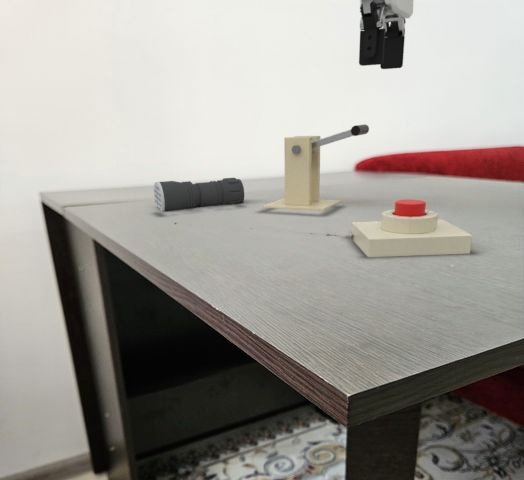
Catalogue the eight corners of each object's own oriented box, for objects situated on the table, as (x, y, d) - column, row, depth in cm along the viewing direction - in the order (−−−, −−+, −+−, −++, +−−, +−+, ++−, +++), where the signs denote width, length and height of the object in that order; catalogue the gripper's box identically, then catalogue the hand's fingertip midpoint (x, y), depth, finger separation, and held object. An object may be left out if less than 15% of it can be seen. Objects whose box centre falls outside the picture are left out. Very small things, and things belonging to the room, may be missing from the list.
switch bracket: (341, 207, 92) (343, 134, 87) (323, 216, 84) (325, 138, 80) (283, 204, 96) (283, 135, 91) (262, 212, 89) (260, 138, 84)
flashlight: (236, 204, 98) (234, 174, 95) (247, 208, 93) (246, 177, 91) (155, 212, 92) (152, 180, 90) (163, 217, 88) (160, 183, 85)
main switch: (370, 135, 83) (367, 120, 82) (361, 137, 79) (358, 120, 78) (302, 156, 89) (299, 142, 89) (290, 159, 85) (287, 144, 85)
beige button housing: (440, 235, 70) (443, 205, 68) (470, 254, 61) (474, 219, 59) (351, 238, 70) (352, 208, 68) (367, 258, 61) (370, 223, 59)
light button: (419, 213, 65) (420, 198, 65) (428, 218, 62) (430, 203, 61) (390, 214, 65) (391, 199, 65) (398, 219, 62) (399, 204, 61)
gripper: (401, -116, 58) (391, 61, 65) (434, -74, 71) (422, 68, 78) (337, -101, 61) (334, 65, 68) (380, -64, 75) (374, 71, 82)
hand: (381, 66), depth 73 cm, fingers open, 9 cm apart
